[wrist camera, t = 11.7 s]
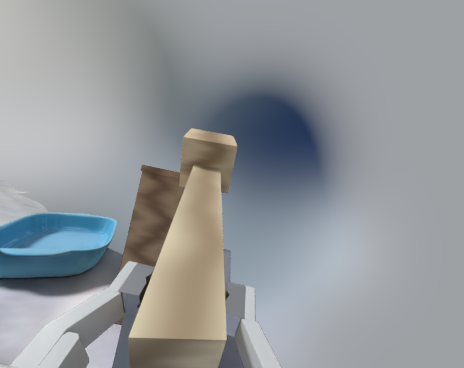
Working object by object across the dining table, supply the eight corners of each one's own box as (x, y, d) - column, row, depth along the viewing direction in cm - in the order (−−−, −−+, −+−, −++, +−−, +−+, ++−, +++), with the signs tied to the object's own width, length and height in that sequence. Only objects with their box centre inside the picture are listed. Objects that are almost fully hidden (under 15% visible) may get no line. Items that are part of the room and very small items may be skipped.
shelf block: (105, 322, 30) (142, 164, 31) (146, 279, 44) (170, 173, 45) (150, 332, 30) (185, 173, 31) (177, 285, 44) (200, 179, 45)
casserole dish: (35, 229, 59) (40, 207, 60) (115, 234, 70) (119, 215, 70) (-84, 300, 27) (-71, 252, 27) (99, 289, 37) (107, 254, 38)
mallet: (88, 385, 8) (59, 264, 5) (187, 167, 33) (191, 128, 31) (248, 384, 9) (296, 282, 6) (225, 173, 34) (232, 135, 32)
